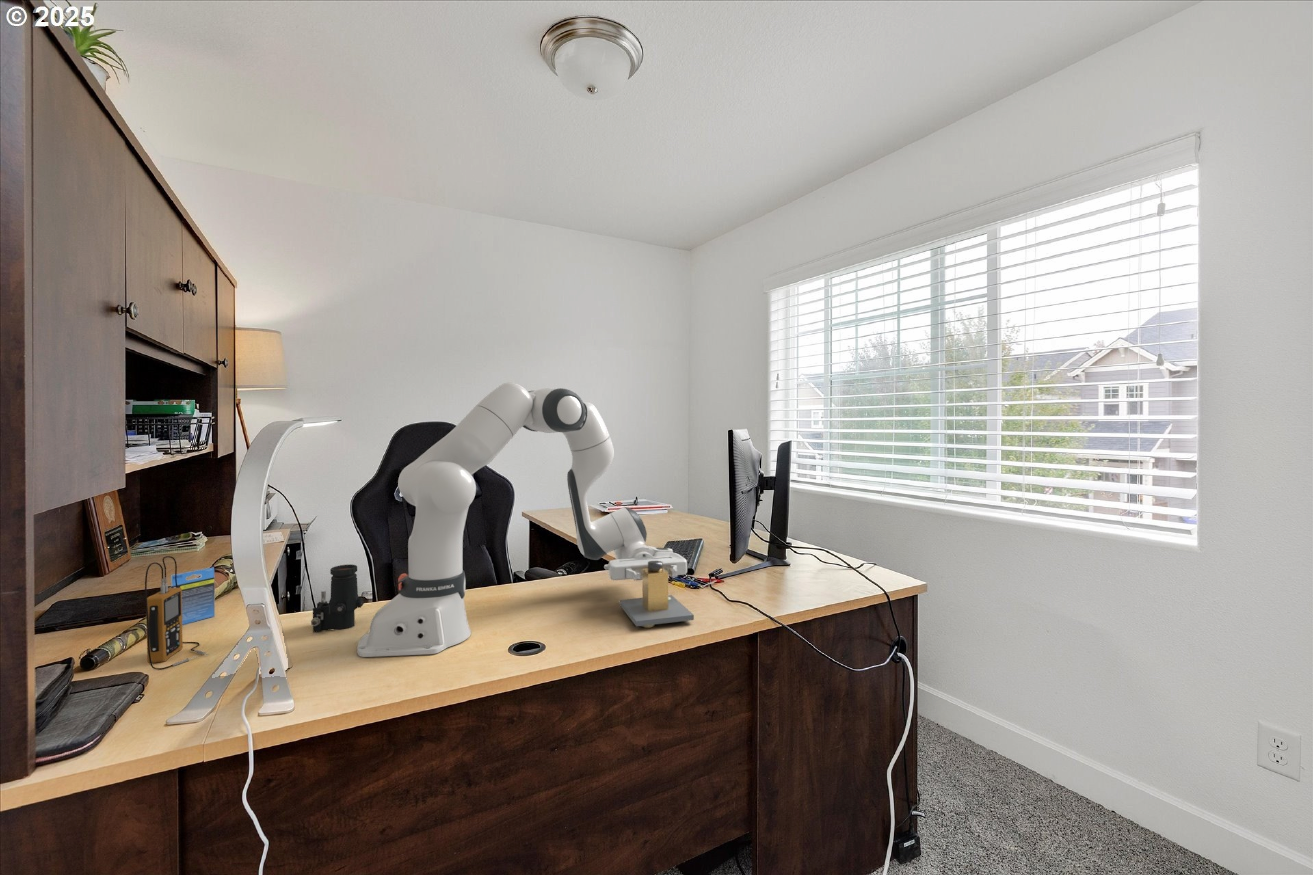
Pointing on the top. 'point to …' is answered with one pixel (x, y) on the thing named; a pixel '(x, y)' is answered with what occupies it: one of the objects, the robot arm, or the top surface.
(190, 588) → the label tape box
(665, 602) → the block with dome knob
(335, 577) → the scope
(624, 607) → the base
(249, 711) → the top surface
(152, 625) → the multimeter
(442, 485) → the robot arm
